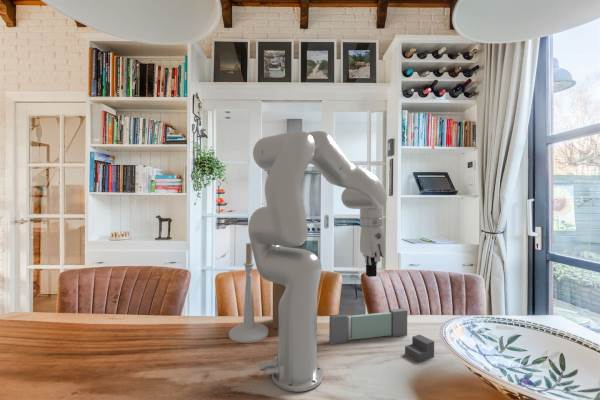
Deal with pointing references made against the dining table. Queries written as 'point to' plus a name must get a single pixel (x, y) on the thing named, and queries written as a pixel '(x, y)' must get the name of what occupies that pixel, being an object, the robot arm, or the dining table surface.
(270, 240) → the robot arm
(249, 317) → the candlestick
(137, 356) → the dining table surface
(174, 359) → the dining table surface
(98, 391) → the dining table surface
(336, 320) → the door frame
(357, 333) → the door
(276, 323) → the wooden block
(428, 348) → the dark grey stepped block
